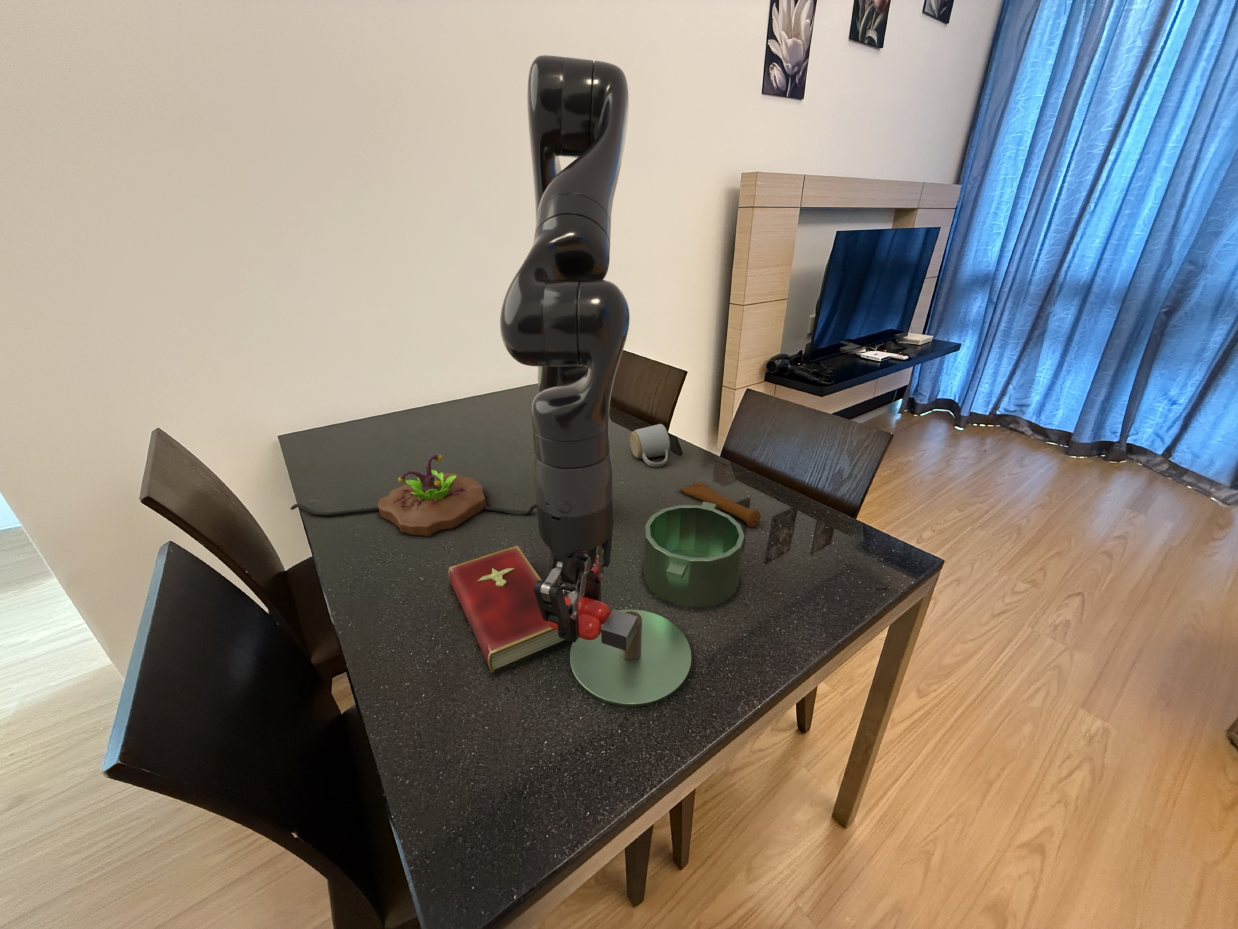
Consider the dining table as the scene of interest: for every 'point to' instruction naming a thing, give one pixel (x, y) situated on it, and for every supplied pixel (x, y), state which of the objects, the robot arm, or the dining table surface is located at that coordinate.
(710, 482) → the dining table surface
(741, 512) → the primitive tool
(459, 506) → the plant
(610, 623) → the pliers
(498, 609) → the hardcover book
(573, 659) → the lid
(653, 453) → the ceramic mug
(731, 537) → the pot
